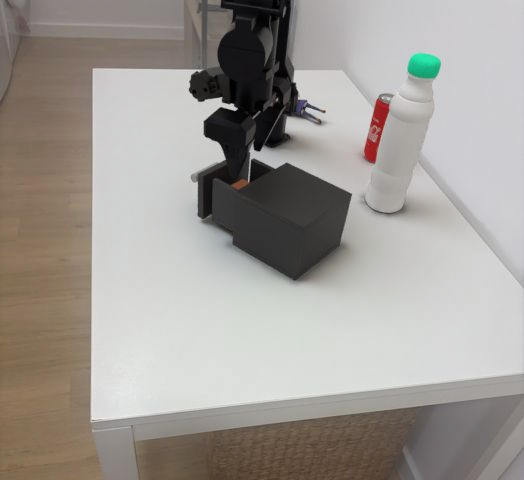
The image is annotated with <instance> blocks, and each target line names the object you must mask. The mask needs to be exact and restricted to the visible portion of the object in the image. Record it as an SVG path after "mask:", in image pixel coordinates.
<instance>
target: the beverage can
mask: <svg viewBox="0 0 524 480" xmlns="http://www.w3.org/2000/svg"><path fill="white" fill-rule="evenodd" d="M394 95H395V93H390V92H389V93H384V92H383V93H381V94H379V95H378V97H377V99H376V100H375V103H374V107H373V111H372V116H371V120H370V124H369V128H368V133H367V136H366V141H365V143H364V144H365V145H364V148H363V153H364V159H365V160H367V162H370V163H372V164H375V163H376V157H377V152H378V147H379V143H380V139H381V135H382V132H383V128H384V125H385V122H386V119H387V116H388V113H389V105H390V102H391V99H392V98H393V96H394Z"/></svg>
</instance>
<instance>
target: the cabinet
mask: <svg viewBox="0 0 524 480" xmlns="http://www.w3.org/2000/svg"><path fill="white" fill-rule="evenodd" d="M352 197H353V193H351V192H350V191H347V190H346V189H343V188H341V187H339V186H337V185H335V184H333V183H331V182H328V181H327V180H325V179H322V178H320V177H318V176H316V175H314V174H312V173H310V172H308V171H306V170H304V169H302V168H299V167H297V166H295V165H294V164H291V163H289V162H285V163H283V164H281V165H279V166H277V167H276V168H275V169H274V170H272V171H270V172H269V173H267V174H265V175H263V176H262V177H260V178H258V179H256V180H254V181H253V182H251V183H249V184H247V185H245V186H244V187H242V188H240V189H238V190H237V191H236V192H235V209H234V225H233V231H232V245H234V247H237V248H238V249H240V250H242V251H244V252H245V253H246V254H249V255H251V256H252V257H254V258H256V260H257V259H258V261H261V262H262V263H264V264H266V265H267V266H269V267H271V268H273V269H274V270H276V271H278V272H280V273H281V274H283V275H285V276H287V278H290V279H292V280H293V281H296V280H298V279H299V278H300V277H301V276H302V275H305V273H306V272H308V271H309V270H310V269H311V268H313V267H314V266H315V265H317V264H318V263H319V262H320V261H321V260H323V259H325V257H327V256H328V255H330V254H331V253H332V252H333V251H334V250H336V249H337V248H338V247H340V246H341V242H342V238H343V233H344V229H345V225H346V222H347V216H348V213H349V207H350V205H351V201H352Z"/></svg>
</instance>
